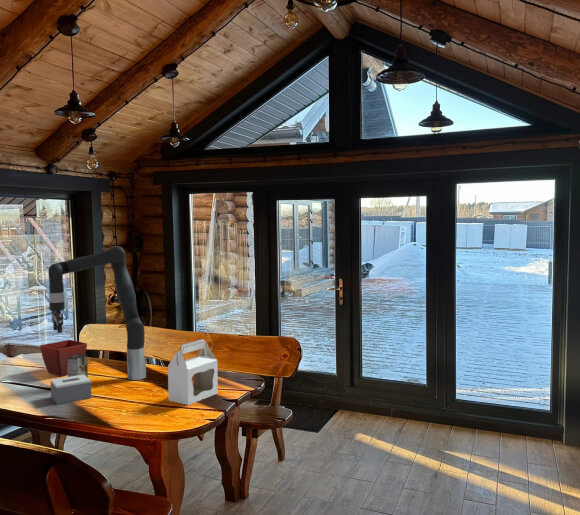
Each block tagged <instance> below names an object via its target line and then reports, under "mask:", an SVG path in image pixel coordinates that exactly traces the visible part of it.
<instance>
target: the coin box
mask: <svg viewBox="0 0 580 515" xmlns="http://www.w3.org/2000/svg"><path fill="white" fill-rule="evenodd" d="M50 397H51V399H52V400H53V401H54V403H55V404H56V405H62V404H67V403H72V402H78V401H82V400H84V401H85V400H88V399H89V400H90V399H92V381H91V379H90V378H89V376H88V377H86V376H85V375H84V374H83V375H77V376H71V377H68V376H65V377H61V378H60V377H59V378H52V379H50Z"/></svg>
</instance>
